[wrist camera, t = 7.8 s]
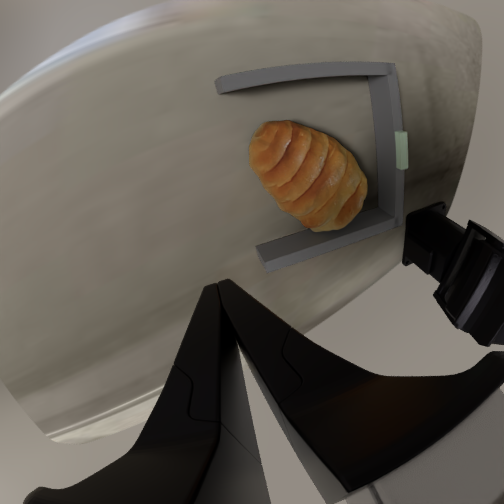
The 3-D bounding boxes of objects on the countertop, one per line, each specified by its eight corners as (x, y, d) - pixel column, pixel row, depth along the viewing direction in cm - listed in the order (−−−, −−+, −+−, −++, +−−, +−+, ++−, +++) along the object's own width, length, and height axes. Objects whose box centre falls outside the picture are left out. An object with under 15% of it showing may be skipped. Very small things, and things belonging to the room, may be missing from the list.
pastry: (223, 170, 19) (233, 184, 16) (278, 95, 17) (300, 93, 14) (314, 230, 23) (336, 251, 20) (360, 168, 21) (388, 181, 18)
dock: (374, 64, 17) (400, 63, 14) (386, 213, 24) (406, 227, 21) (214, 80, 15) (221, 75, 13) (258, 256, 23) (269, 277, 20)
